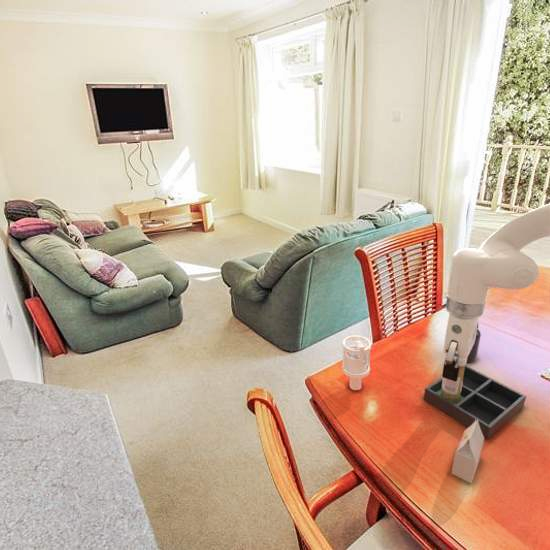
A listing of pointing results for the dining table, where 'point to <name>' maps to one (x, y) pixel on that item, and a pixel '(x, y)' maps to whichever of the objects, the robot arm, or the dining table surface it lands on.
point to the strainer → (356, 360)
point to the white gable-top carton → (468, 453)
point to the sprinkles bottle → (454, 383)
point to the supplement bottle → (474, 347)
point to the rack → (478, 402)
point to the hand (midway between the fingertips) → (454, 369)
